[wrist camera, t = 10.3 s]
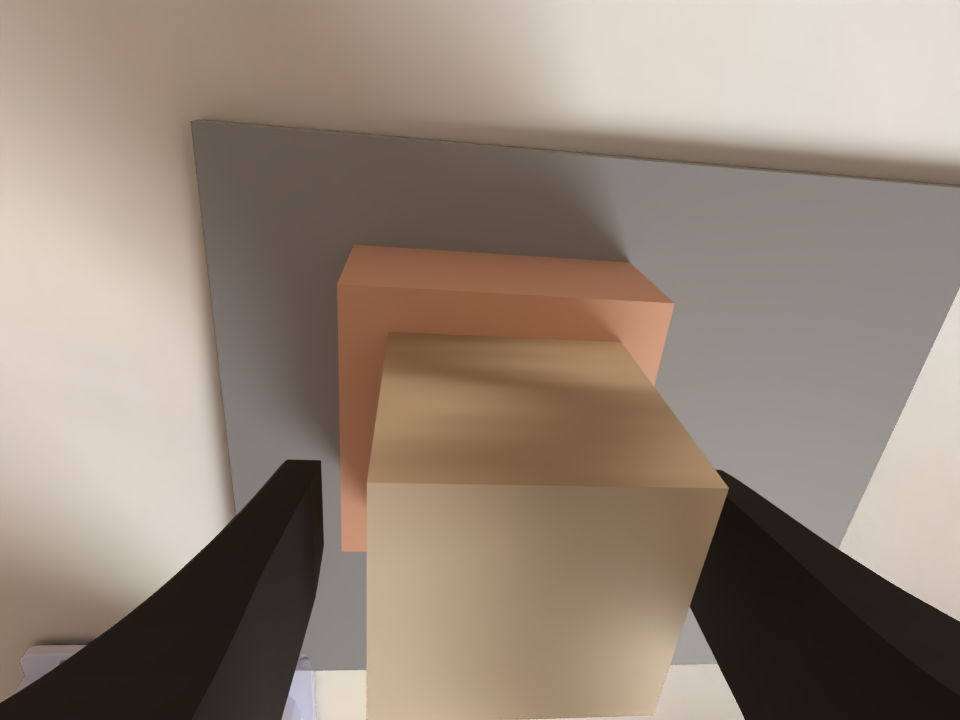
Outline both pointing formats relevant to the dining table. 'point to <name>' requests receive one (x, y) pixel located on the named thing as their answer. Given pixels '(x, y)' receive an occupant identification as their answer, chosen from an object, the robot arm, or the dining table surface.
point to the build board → (698, 235)
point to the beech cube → (527, 531)
